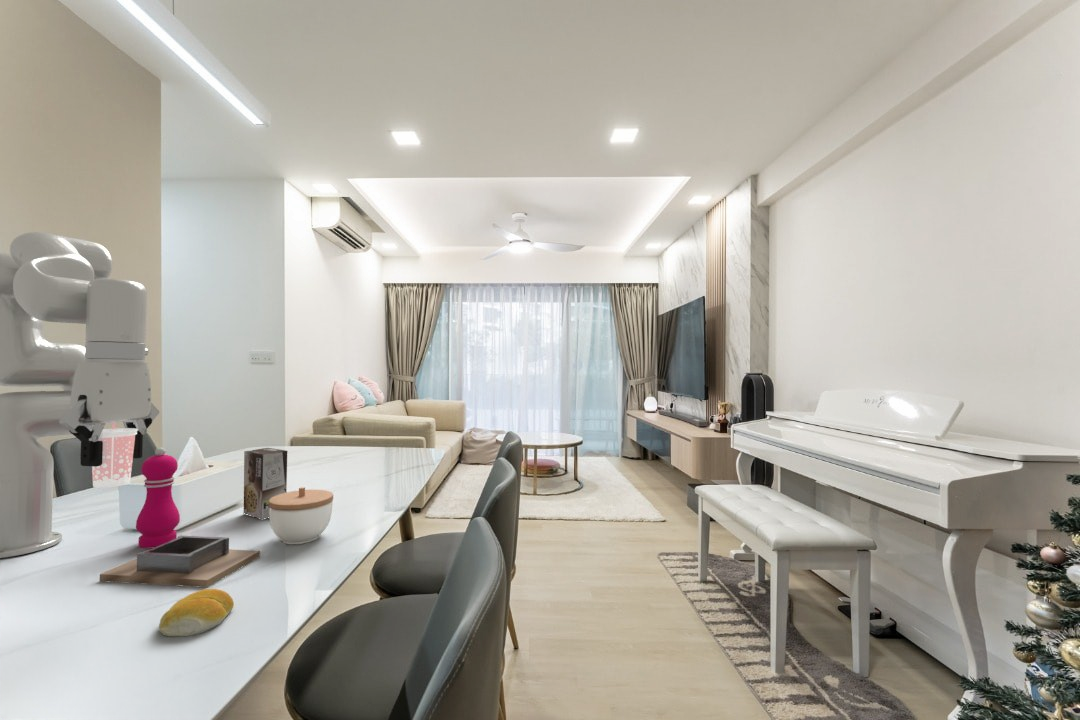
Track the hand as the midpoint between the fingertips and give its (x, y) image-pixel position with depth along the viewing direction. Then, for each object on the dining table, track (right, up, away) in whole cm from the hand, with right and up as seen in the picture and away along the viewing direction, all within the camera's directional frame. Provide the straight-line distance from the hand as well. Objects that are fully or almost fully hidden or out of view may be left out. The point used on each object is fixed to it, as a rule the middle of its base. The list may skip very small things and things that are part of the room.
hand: (112, 460), depth 79 cm
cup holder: (+6, -22, +8) cm, 24 cm away
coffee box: (+2, -22, +41) cm, 47 cm away
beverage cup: (0, -4, 0) cm, 4 cm away
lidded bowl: (+19, -22, +24) cm, 38 cm away
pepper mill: (-9, -22, +21) cm, 32 cm away
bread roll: (+21, -22, -10) cm, 32 cm away
